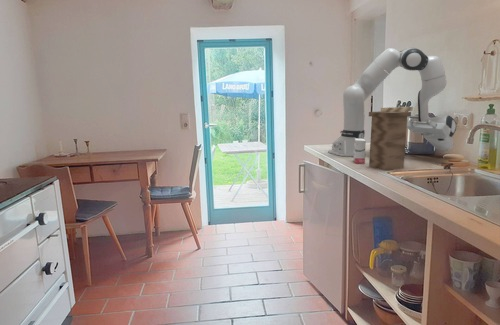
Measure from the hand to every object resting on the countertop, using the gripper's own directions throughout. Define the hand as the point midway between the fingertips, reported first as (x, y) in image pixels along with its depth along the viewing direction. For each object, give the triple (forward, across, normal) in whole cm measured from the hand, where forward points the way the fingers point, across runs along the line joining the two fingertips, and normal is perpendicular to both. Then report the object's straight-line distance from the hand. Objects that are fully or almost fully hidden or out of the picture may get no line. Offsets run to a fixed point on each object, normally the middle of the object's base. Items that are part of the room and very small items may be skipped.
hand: (419, 120), depth 173 cm
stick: (+17, 0, +4) cm, 18 cm away
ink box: (+9, -16, +30) cm, 35 cm away
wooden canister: (+9, 0, +29) cm, 31 cm away
